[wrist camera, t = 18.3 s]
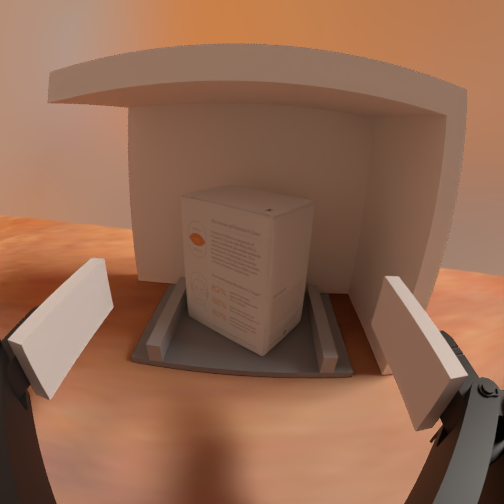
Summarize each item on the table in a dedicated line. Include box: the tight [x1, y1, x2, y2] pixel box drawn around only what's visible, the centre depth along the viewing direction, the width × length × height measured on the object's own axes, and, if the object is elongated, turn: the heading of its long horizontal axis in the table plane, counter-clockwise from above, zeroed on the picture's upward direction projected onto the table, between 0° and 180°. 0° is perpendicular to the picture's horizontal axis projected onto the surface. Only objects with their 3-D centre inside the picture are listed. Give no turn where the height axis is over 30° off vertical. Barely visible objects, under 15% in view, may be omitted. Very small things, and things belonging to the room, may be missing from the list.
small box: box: [181, 185, 314, 356], centre depth 22 cm, size 8×6×10 cm
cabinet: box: [48, 44, 467, 378], centre depth 22 cm, size 14×24×20 cm, turn 88°
